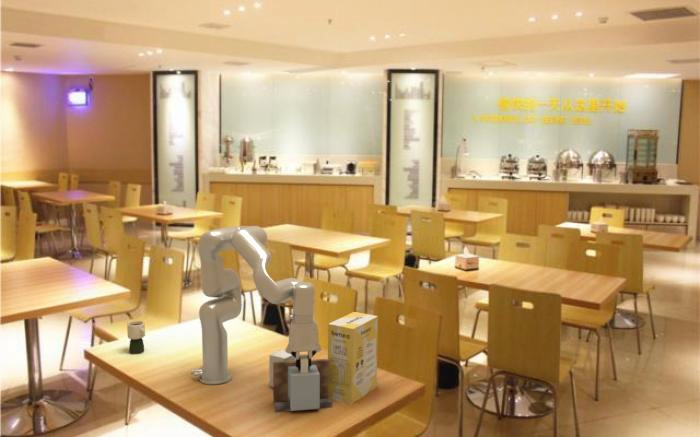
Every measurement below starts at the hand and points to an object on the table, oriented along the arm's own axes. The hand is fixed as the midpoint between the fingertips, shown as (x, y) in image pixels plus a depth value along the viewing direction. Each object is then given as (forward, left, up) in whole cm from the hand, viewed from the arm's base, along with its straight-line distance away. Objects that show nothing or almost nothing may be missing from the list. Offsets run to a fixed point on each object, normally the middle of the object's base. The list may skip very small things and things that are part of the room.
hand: (303, 368), depth 225 cm
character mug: (-63, +68, -15) cm, 94 cm away
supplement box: (-5, +21, -15) cm, 26 cm away
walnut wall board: (0, +2, -14) cm, 15 cm away
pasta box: (+20, +10, -15) cm, 27 cm away
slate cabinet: (0, 0, -13) cm, 13 cm away
